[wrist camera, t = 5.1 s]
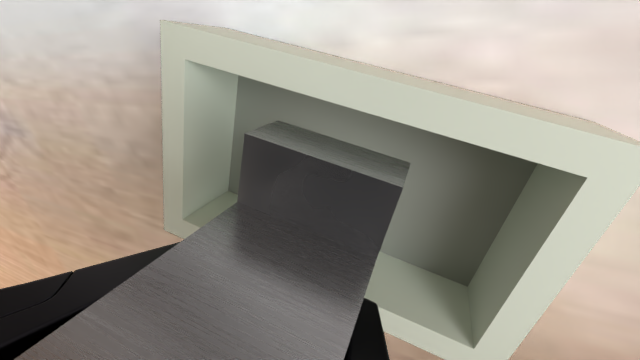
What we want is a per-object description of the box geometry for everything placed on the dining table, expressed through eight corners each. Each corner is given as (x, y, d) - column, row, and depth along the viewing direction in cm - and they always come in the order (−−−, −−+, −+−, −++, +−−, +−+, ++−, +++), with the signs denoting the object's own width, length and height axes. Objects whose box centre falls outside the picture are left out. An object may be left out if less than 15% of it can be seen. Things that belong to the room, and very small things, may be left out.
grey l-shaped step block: (361, 296, 10) (223, 700, 4) (258, 250, 11) (8, 515, 5) (410, 162, 8) (287, 568, 2) (278, 120, 9) (-128, 276, 3)
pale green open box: (481, 308, 14) (491, 381, 10) (214, 198, 17) (164, 230, 14) (596, 122, 10) (664, 152, 7) (225, 28, 13) (160, 19, 10)
